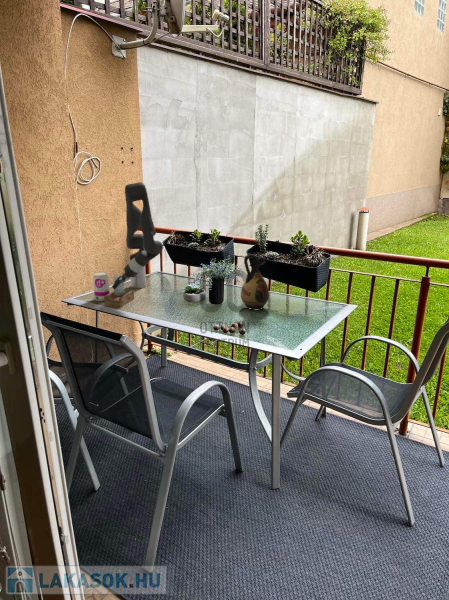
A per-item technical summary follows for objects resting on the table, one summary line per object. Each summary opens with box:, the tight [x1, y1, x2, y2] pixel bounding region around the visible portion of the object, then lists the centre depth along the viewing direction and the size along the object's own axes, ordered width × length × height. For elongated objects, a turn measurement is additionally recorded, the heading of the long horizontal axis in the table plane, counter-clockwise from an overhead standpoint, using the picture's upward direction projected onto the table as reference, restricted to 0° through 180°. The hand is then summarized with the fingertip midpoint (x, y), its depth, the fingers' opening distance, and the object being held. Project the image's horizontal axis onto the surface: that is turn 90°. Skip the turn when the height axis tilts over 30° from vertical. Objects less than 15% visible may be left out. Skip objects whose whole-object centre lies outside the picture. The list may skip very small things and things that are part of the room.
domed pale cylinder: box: [112, 274, 126, 295], centre depth 247 cm, size 6×6×10 cm
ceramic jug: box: [240, 253, 270, 309], centre depth 239 cm, size 17×16×30 cm
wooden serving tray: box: [103, 289, 135, 308], centre depth 249 cm, size 16×10×5 cm, turn 165°
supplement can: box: [92, 271, 110, 302], centre depth 252 cm, size 8×8×15 cm
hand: (116, 286), depth 247 cm, fingers closed on domed pale cylinder, 5 cm apart
